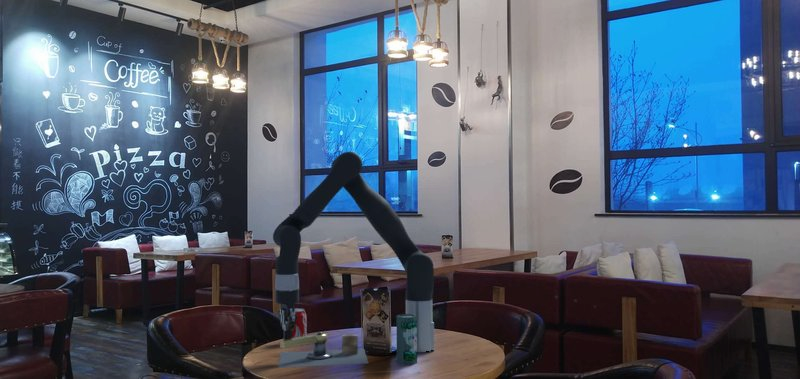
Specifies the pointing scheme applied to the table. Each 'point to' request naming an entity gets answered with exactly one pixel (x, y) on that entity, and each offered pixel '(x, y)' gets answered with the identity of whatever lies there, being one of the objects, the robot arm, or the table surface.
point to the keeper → (350, 344)
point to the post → (320, 352)
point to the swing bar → (304, 340)
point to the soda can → (300, 324)
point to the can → (406, 339)
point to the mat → (337, 359)
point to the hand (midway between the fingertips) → (287, 341)
